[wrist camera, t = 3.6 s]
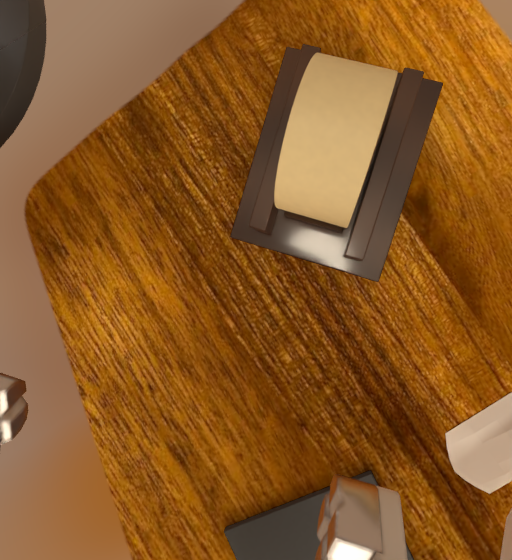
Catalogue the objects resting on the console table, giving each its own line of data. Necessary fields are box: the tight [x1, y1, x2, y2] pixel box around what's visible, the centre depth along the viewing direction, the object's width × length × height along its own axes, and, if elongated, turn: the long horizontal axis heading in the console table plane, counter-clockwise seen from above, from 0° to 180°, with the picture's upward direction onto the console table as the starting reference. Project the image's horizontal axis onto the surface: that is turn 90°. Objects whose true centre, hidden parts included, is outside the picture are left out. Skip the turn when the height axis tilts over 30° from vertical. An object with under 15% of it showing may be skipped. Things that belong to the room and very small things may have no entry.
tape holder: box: [230, 44, 443, 282], centre depth 29 cm, size 14×11×4 cm
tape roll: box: [274, 53, 398, 228], centre depth 26 cm, size 9×5×9 cm, turn 163°
